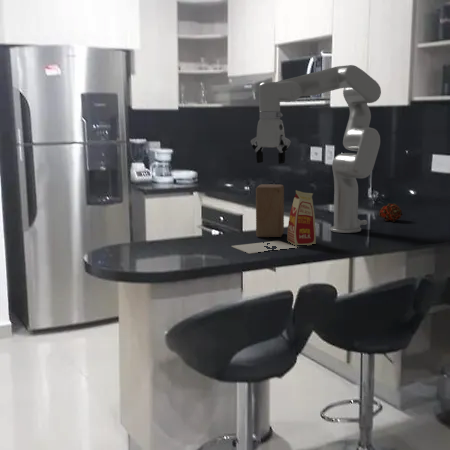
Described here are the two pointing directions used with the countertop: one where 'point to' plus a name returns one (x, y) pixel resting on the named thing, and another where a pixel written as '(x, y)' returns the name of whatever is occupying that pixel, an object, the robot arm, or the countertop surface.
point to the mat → (262, 246)
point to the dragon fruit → (390, 212)
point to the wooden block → (269, 210)
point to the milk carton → (302, 220)
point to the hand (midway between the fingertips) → (270, 162)
